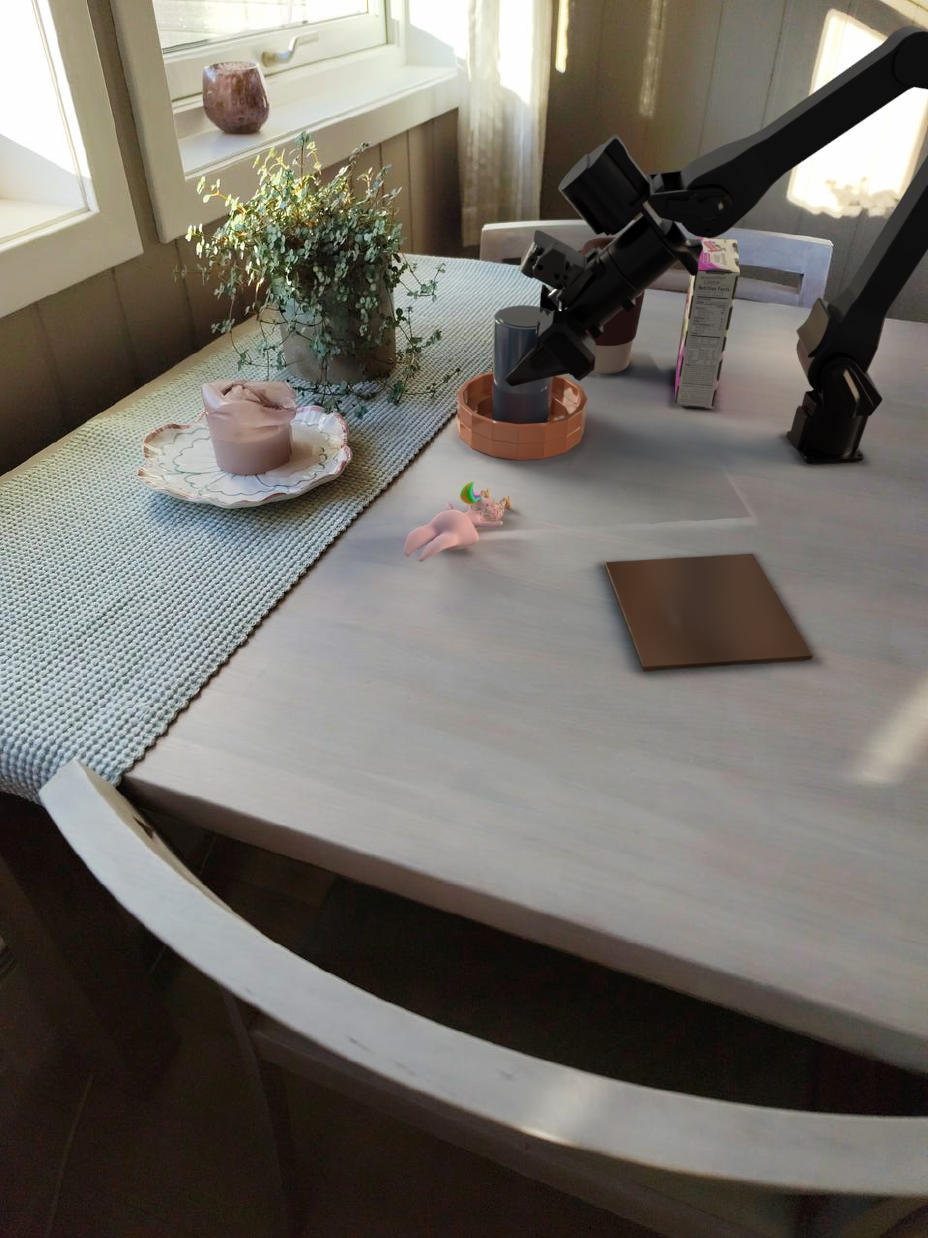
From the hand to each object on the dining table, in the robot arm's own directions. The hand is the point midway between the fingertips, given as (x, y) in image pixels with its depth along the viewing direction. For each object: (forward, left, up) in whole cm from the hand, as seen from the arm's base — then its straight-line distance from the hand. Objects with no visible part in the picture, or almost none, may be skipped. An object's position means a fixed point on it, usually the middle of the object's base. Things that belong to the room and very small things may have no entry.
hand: (510, 368), depth 94 cm
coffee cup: (-14, -17, -8) cm, 23 cm away
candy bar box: (-24, -9, -8) cm, 27 cm away
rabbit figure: (+8, +21, -8) cm, 24 cm away
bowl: (-1, 0, -8) cm, 8 cm away
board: (-12, +33, -8) cm, 36 cm away
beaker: (-1, 0, -7) cm, 7 cm away
